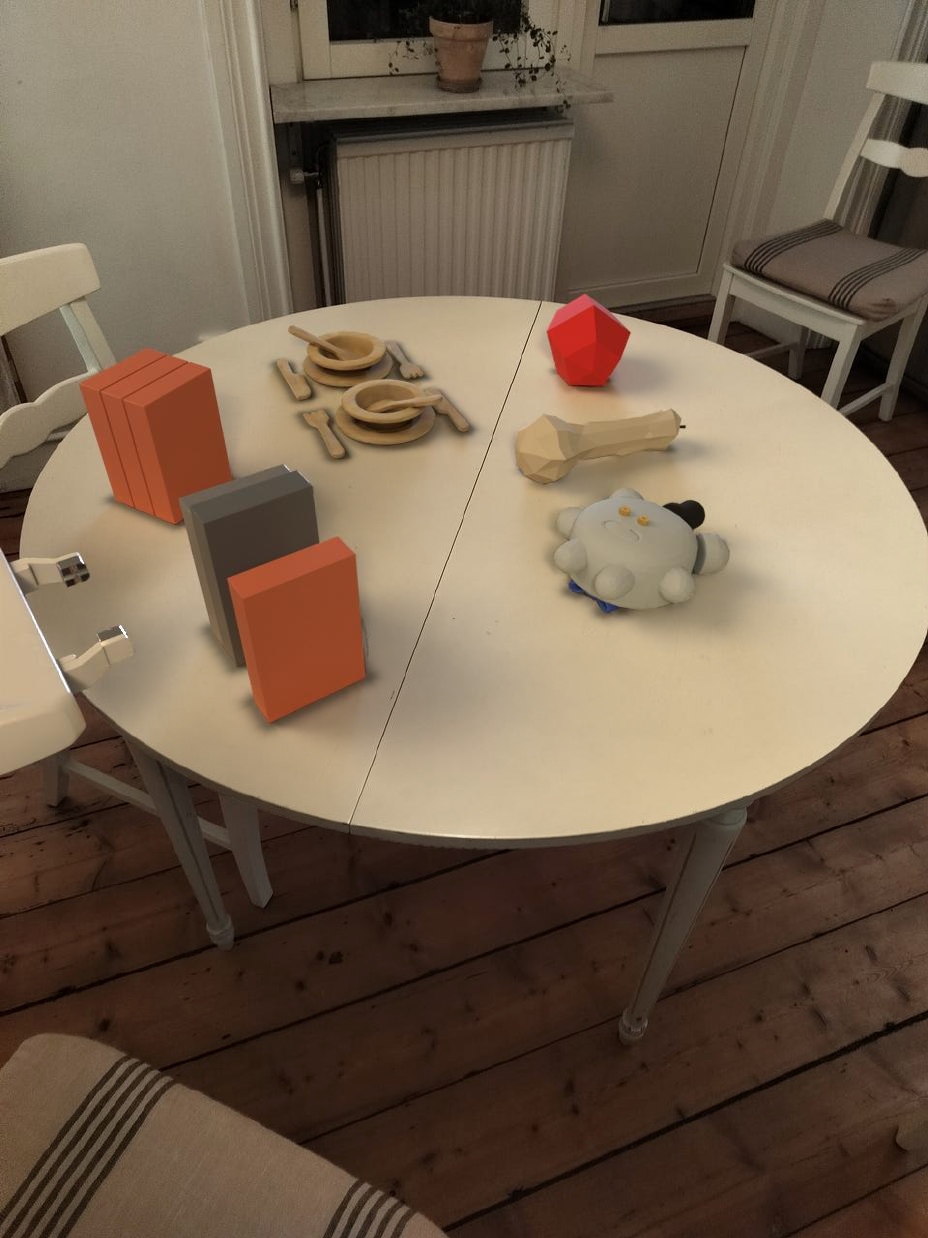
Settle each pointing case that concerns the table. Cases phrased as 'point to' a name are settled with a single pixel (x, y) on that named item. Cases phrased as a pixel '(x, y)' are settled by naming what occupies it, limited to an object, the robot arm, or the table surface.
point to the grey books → (245, 536)
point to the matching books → (157, 431)
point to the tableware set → (367, 390)
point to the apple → (586, 342)
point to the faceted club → (588, 441)
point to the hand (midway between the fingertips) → (106, 600)
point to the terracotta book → (300, 626)
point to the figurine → (637, 551)
